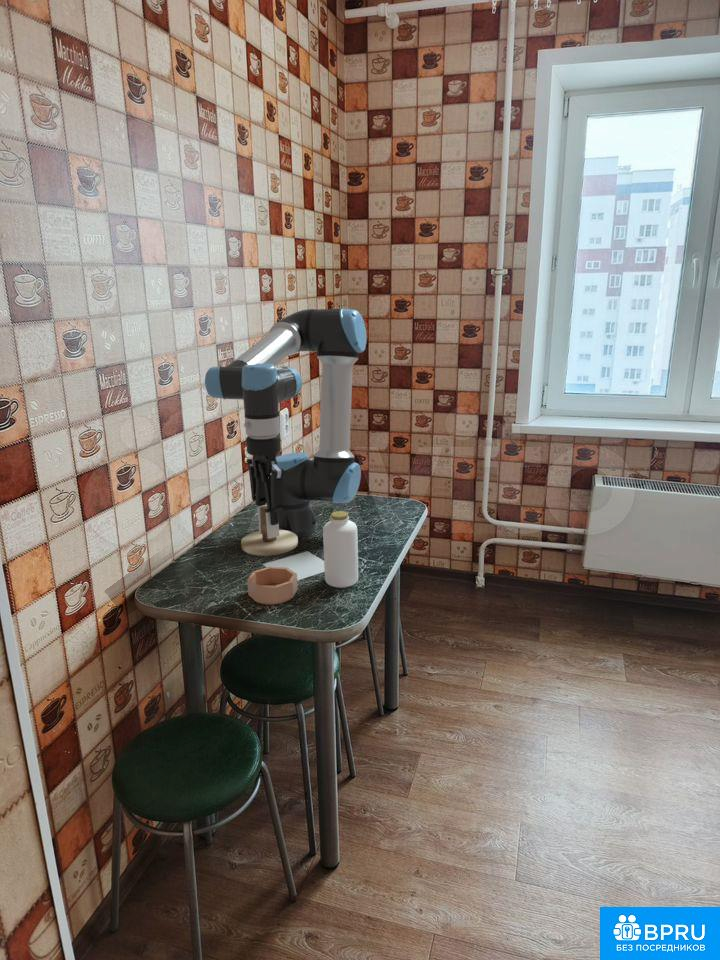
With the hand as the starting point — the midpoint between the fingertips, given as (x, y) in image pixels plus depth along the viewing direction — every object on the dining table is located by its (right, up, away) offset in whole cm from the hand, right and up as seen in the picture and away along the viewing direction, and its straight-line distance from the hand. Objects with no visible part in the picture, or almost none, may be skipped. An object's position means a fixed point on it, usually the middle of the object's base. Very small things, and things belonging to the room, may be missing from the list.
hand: (269, 534), depth 151 cm
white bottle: (+17, -13, +11) cm, 24 cm away
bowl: (0, -15, +5) cm, 16 cm away
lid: (0, -2, +1) cm, 3 cm away
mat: (+5, -10, +20) cm, 23 cm away
